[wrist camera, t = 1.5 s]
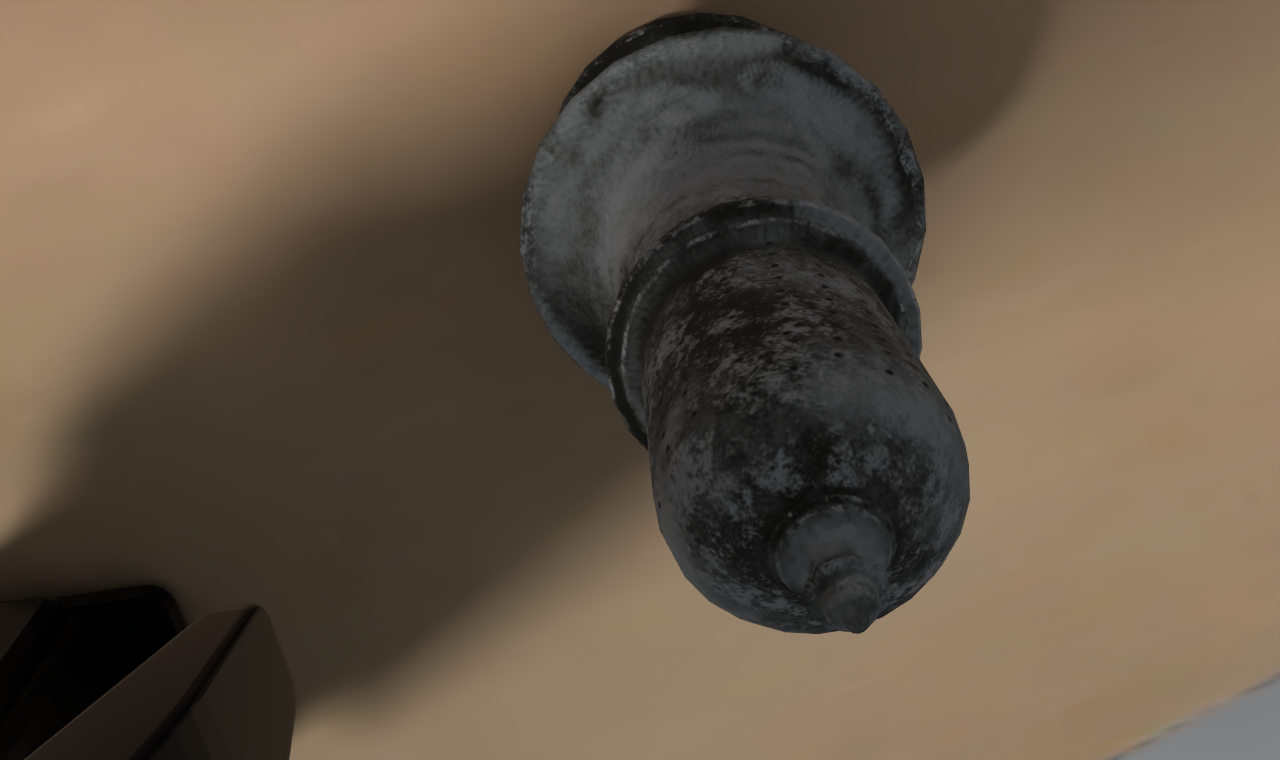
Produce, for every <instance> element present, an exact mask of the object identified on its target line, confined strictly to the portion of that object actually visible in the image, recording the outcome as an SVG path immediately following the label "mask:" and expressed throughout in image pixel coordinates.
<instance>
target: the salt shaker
mask: <svg viewBox="0 0 1280 760" xmlns="http://www.w3.org/2000/svg"><path fill="white" fill-rule="evenodd" d="M925 232H926V220H925V196H924V179H923V176H922V173H921V170H920V167H919V164H918V161H917V158H916V155H915V152H914V149H913V146H912V143H911V140H910V137H909V134H908V131H907V129H906V128H905V126H904V125H903V124H902V122H901V121H900V119H899V118H898V116H897V115H896V114H895V112H894V111H893V109H892V108H891V107H890V105H889V104H888V102H887V101H886V99H885V98H884V97H883V95H882V94H881V92H880V91H879V89H878V88H877V87H876V86H875V85H874V84H872V83H871V82H870V81H868V80H867V79H866V78H865V77H863V76H862V75H861V74H860V73H858V72H857V71H856V70H854V69H853V68H852V67H851V66H849V65H848V64H847V63H846V62H844V61H843V60H842V59H840V58H839V57H838V56H837V55H835V54H834V53H833V52H831V51H828V50H825V49H823V48H820V47H818V46H815V45H813V44H810V43H808V42H805V41H803V40H800V39H798V38H795V37H793V36H790V35H788V34H785V33H782V32H778V31H776V30H773V29H771V28H768V27H766V26H763V25H761V24H758V23H756V22H753V21H751V20H748V19H745V18H743V17H739V16H729V15H719V14H708V13H694V14H688V15H683V16H677V17H672V18H666V19H661V20H656V21H654V22H652V23H650V24H648V25H646V26H644V27H642V28H640V29H638V30H636V31H633V32H631V33H629V34H627V35H625V36H623V37H621V38H619V39H618V40H617V41H615V42H614V43H613V44H612V45H611V46H610V47H608V48H607V49H606V50H605V51H604V52H603V53H602V54H600V55H599V56H598V57H597V58H596V59H595V60H593V61H592V62H591V63H590V64H589V65H588V66H587V67H586V68H585V70H584V71H583V73H582V74H581V76H580V77H579V79H578V80H577V82H576V83H575V85H574V86H573V88H572V89H571V90H570V92H569V93H568V95H567V96H566V98H565V99H564V101H563V104H562V107H561V110H560V113H559V116H558V119H557V120H556V122H555V123H554V124H553V126H552V127H551V129H550V130H549V132H548V133H547V135H546V136H545V138H544V139H543V141H542V142H541V144H540V145H539V148H538V151H537V154H536V157H535V160H534V163H533V166H532V169H531V172H530V175H529V178H528V181H527V184H526V187H525V190H524V193H523V197H522V214H521V235H520V253H521V257H522V261H523V266H524V270H525V274H526V279H527V283H528V287H529V292H530V296H531V299H532V301H533V303H534V305H535V306H536V308H537V310H538V312H539V314H540V316H541V317H542V319H543V321H544V323H545V325H546V327H547V328H548V330H549V332H550V334H551V336H552V338H553V339H554V341H555V342H556V343H557V344H558V345H559V346H560V347H561V348H562V349H563V350H564V352H565V353H566V354H567V355H568V356H569V357H570V358H571V359H572V360H573V361H574V362H575V363H576V364H577V365H578V366H579V367H580V368H581V369H582V370H583V371H584V372H585V373H586V374H587V375H588V376H589V377H591V378H592V379H594V380H596V381H597V382H599V383H601V384H602V385H604V386H606V387H607V388H609V389H610V390H611V394H612V399H613V401H614V403H615V405H616V407H617V409H618V411H619V413H620V414H621V416H622V418H623V420H624V422H625V424H626V426H627V428H628V430H629V431H630V433H631V434H632V435H633V436H634V437H635V438H636V439H637V440H638V441H639V442H640V443H641V444H642V445H643V446H644V447H645V448H646V449H647V451H648V452H649V459H650V469H651V478H652V488H653V497H654V502H655V507H656V512H657V517H658V522H659V527H660V531H661V533H662V535H663V537H664V539H665V541H666V543H667V545H668V546H669V548H670V550H671V552H672V554H673V556H674V558H675V559H676V561H677V563H678V565H679V567H680V569H681V571H682V572H683V574H684V576H685V578H686V579H687V580H688V581H689V582H690V583H691V584H692V585H693V586H694V587H695V588H696V589H697V590H698V591H699V592H700V593H701V594H702V595H703V596H704V597H705V598H706V599H707V600H708V601H709V602H711V603H713V604H715V605H717V606H718V607H720V608H722V609H724V610H725V611H727V612H729V613H731V614H732V615H734V616H736V617H738V618H739V619H742V620H745V621H748V622H752V623H755V624H758V625H762V626H765V627H769V628H772V629H776V630H779V631H783V632H791V633H810V634H821V633H828V632H834V631H845V632H852V633H857V634H859V633H862V632H864V631H865V630H866V629H867V628H868V627H869V626H870V625H871V624H872V623H873V622H874V621H875V620H876V619H879V618H881V617H883V616H885V615H887V614H888V613H890V612H891V611H893V610H894V609H896V608H897V607H899V606H901V605H902V604H904V603H905V602H907V601H908V600H910V599H911V598H912V597H913V596H914V595H915V594H916V593H917V592H918V591H919V590H920V589H921V588H922V587H923V586H924V585H925V584H926V583H927V582H928V581H929V580H930V579H931V578H932V577H933V576H934V575H935V573H936V572H937V571H938V570H939V568H940V567H941V566H942V564H943V562H944V561H945V559H946V557H947V556H948V554H949V552H950V551H951V549H952V547H953V546H954V544H955V542H956V541H957V539H958V537H959V535H960V534H961V530H962V527H963V523H964V519H965V516H966V512H967V508H968V505H969V501H970V487H969V463H968V458H967V452H966V447H965V443H964V440H963V438H962V435H961V432H960V429H959V426H958V424H957V421H956V418H955V415H954V412H953V410H952V409H951V407H950V406H949V404H948V403H947V401H946V400H945V398H944V397H943V395H942V393H941V392H940V390H939V389H938V387H937V386H936V384H935V383H934V381H933V380H932V378H931V376H930V375H929V373H928V372H927V370H926V369H925V367H924V366H923V364H922V363H921V361H920V359H919V358H920V354H921V350H922V340H921V321H920V309H919V306H918V303H917V300H916V297H915V294H914V292H913V289H912V284H913V282H914V280H915V276H916V272H917V267H918V263H919V258H920V254H921V250H922V245H923V241H924V237H925Z"/></svg>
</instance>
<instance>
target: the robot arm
mask: <svg viewBox="0 0 1280 760" xmlns="http://www.w3.org/2000/svg"><path fill="white" fill-rule="evenodd" d="M141 607H147V608H149V609H151V610H153V611H154V612H155V613H156V614H149V613H147V612H145V611H143V610H142V609H141ZM295 714H296V691H295V685H294V681H293V678H292V675H291V672H290V670H289V667H288V664H287V662H286V659H285V657H284V654H283V651H282V649H281V646H280V644H279V641H278V638H277V636H276V633H275V630H274V628H273V625H272V623H271V620H270V618H269V616H268V614H267V613H266V611H265V610H264V609H263V608H262V607H260V606H258V605H256V604H247V605H240V606H233V607H226V608H219V609H213V610H210V611H207V612H206V613H204V614H203V615H201V616H200V617H199V618H198V619H196V620H195V621H194V622H193V623H192V624H190V625H189V626H188V627H187V626H186V624H185V622H184V619H183V617H182V615H181V612H180V610H179V608H178V605H177V603H176V601H175V599H174V598H173V597H172V595H171V594H170V593H169V592H167V591H166V590H164V589H163V588H160V587H157V586H154V585H141V586H134V587H127V588H120V589H113V590H106V591H99V592H92V593H85V594H78V595H71V596H64V597H57V598H46V597H38V598H32V599H25V600H18V601H11V602H4V603H0V760H289V757H290V750H291V743H292V735H293V728H294V721H295Z"/></svg>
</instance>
